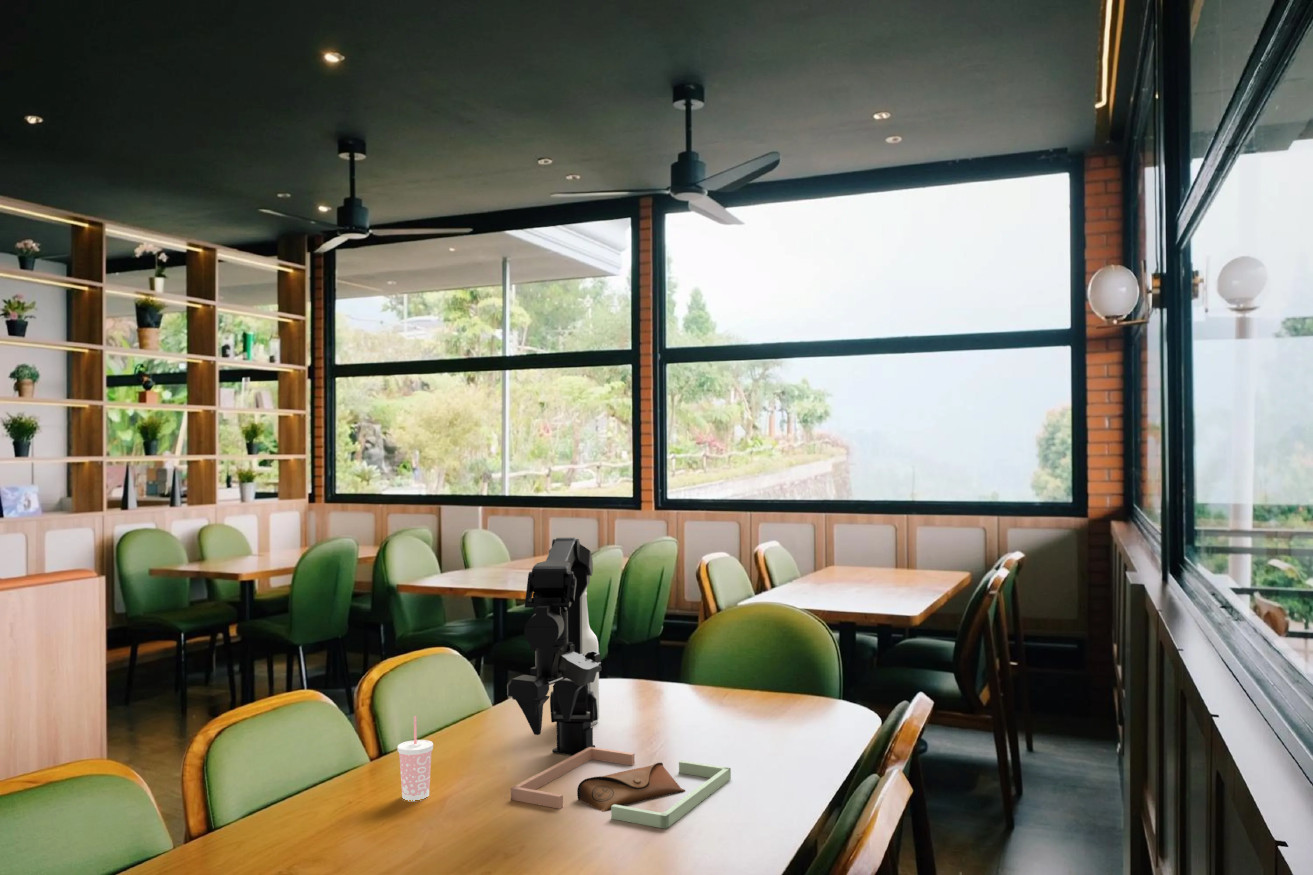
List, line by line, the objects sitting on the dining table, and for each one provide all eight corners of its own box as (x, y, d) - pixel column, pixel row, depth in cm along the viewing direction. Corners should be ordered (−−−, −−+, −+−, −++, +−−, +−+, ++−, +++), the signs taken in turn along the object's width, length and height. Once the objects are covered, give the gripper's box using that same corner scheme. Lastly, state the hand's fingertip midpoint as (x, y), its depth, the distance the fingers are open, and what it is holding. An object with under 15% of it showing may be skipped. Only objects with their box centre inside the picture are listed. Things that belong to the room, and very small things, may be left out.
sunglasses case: (602, 813, 158) (591, 772, 160) (583, 823, 162) (573, 784, 165) (689, 790, 168) (677, 752, 171) (669, 801, 173) (658, 764, 176)
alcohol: (607, 720, 214) (605, 586, 214) (583, 730, 206) (582, 590, 207) (575, 715, 218) (574, 583, 219) (551, 724, 211) (550, 588, 211)
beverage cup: (401, 805, 162) (401, 722, 163) (394, 794, 168) (393, 714, 168) (437, 798, 165) (437, 717, 166) (428, 788, 171) (428, 709, 171)
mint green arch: (611, 818, 155) (611, 806, 155) (681, 771, 178) (681, 760, 178) (666, 828, 151) (665, 815, 151) (730, 778, 174) (730, 767, 174)
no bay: (511, 799, 164) (510, 787, 165) (589, 756, 188) (589, 746, 188) (559, 808, 160) (559, 796, 160) (634, 763, 183) (634, 753, 183)
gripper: (560, 651, 154) (561, 748, 154) (618, 631, 170) (619, 719, 170) (504, 645, 159) (505, 739, 159) (566, 627, 176) (566, 712, 175)
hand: (552, 727), depth 166 cm, fingers open, 9 cm apart
